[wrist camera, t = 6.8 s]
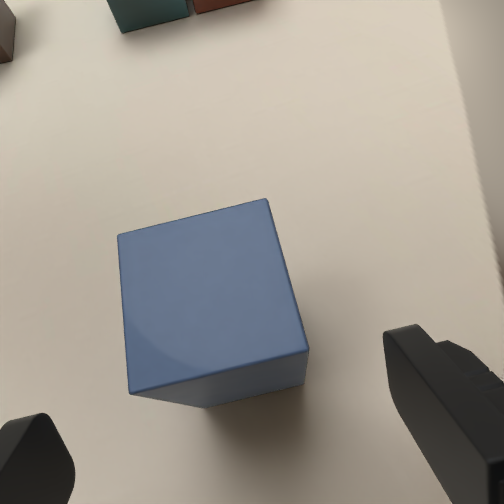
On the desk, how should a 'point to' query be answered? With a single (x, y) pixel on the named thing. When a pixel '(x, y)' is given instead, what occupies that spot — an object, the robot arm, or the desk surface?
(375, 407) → the desk surface
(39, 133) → the desk surface
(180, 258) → the blue block
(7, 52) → the block row
